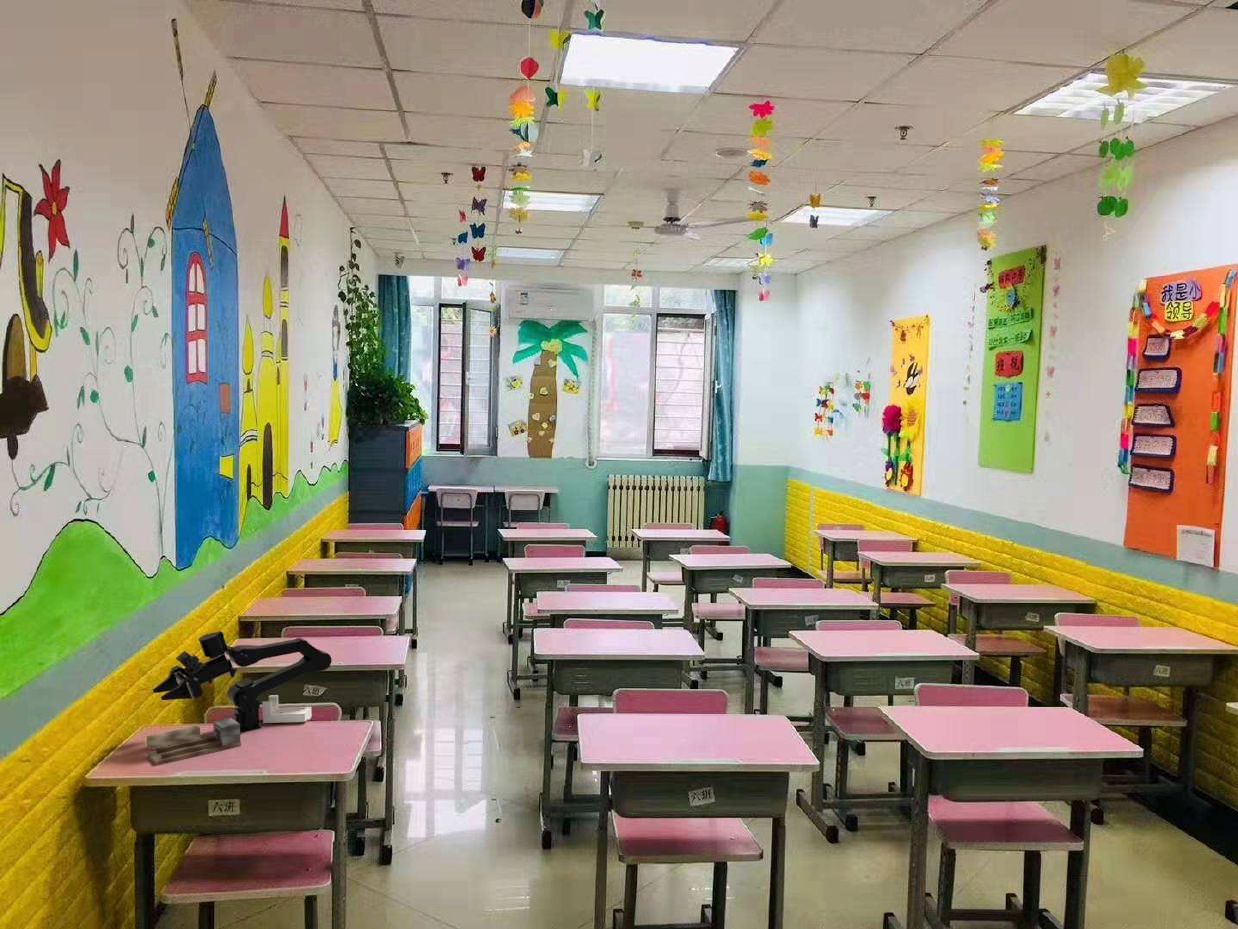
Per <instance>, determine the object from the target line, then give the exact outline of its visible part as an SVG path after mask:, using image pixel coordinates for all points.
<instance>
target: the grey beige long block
mask: <svg viewBox="0 0 1238 929" xmlns="http://www.w3.org/2000/svg"><path fill="white" fill-rule="evenodd" d="M199 739H201V728H200V726H198V725H195V726H189V727H184V728H181V729H175V730H170V731H166V732H161V733H157V734H153V735H146V748H147V749H148V748H149V749H152V750H154V749H153V748H156V749H158V748H160V747H161V748H162V747H167V746H168V745H170V746H171V745H172V744H174V745H176V744H178V743H179V744H181V743H182V742H183V743H185V742H190V741H194V740H199Z"/></svg>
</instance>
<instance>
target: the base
mask: <svg viewBox="0 0 1238 929" xmlns="http://www.w3.org/2000/svg"><path fill="white" fill-rule="evenodd" d="M212 724H213V727H212V728H213V736H209V737H204V738H200V739H197V740H192V741H188V742H183V743H179V744H174V745H170V746H165V747H161V748H156V749H155V750H156V751H153V752H148V753H147V758H148V759H149V760H150V761H151V762H152V763H153V764H154V765H155V766H160V765H163V764H164V763H165V764H169V763H173V762H177V760H178V761H182V760H185V759H191V758H194V757H198V756H203V755H207V754H212V753H216V752H220V751H225V750H228V749H234V748H238V747H241V746H242V741H241V732H240V724H239V723H238V722H236V721H235V720H234V719H233V718H232V717H225V718H222V719H216V720H213V722H212ZM172 761H173V762H172ZM168 762H169V763H168ZM159 764H160V765H159ZM165 764H164V765H165Z"/></svg>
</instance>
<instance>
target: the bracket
mask: <svg viewBox="0 0 1238 929" xmlns="http://www.w3.org/2000/svg"><path fill="white" fill-rule="evenodd" d="M312 714H313V713H312V706H293V707H292V706H291V707H290V706H287V707H285V706H284V707H279V695H278V694H275V695H269V696H268V700H267V701H266V700H263V701H262V723H263V724H273V723H274V724H276V723H278V724H279V723H304V722H307V721H309V720H310V719H311V718H312V717H313V716H312Z"/></svg>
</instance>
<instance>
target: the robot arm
mask: <svg viewBox="0 0 1238 929" xmlns="http://www.w3.org/2000/svg"><path fill="white" fill-rule="evenodd" d="M198 642H199V644H200V647H201V650H202V652H203V655H204V657H205V658H209V660H208V661H205V662H202V661H200V658H199V657H198V656H197V655H196V654H194V655H190V653H188V652H187V651H186V650H183V651H182V652H181V653H180V654H179V655H178V656H177V657H176V658H175V660H176V661H177V662H179V663H181V664H182V666H180V665H175V666H173V667H171V668H170V671H169V673H168V677H166V679H164V680H163V681H162V682H161V683H159V684H158V685H156V687H154V688H153V689H152V691H153V692H152V693H154V694H159V693H164V694H162V696H160V699H161V701H171V700H188V699H189V700H192V699H194V700H196V699H198V698H200V697H202V695H203V693H204V691H203V688H202V685H204V684H207V683H208V684H212V683H213V680H215V679H217V678H220V677H222V676H225V674H227V675H228V677H230V678H235V676H236V672H237V670H238V669H237V668H235V667H233V666H234V665H233V663H234V664H235V665H236V666H238V667H241V668H246V667H249V666H251V665H254V664H257V663H258V662H260V661H261V660H265V659H272V658H275V657H280V656H281V657H282V656H285V655H290V654H296V653H299V654H301V655H302V657H301V658H300V659H299V660H298V661H297V662H295V663H292V664H289V665H287V666H285V667H284V668H281V669H278V670H277V671H274V672H272V673H270V674H267V675H265V676H263V677H261V678H257V679H256V680H252V679H250V678H248V677H245V678H243V679H241V680H238V681H234V682H233V685H231V686H230V687H229V688H228V690H227V694H226V698H227V699H228V701H229V702H231V703H232V704H233V705H234V707H236V708H235V709H234V713H233V718H232V719H234V720H235V721H236V722H238V723H239V724H240V733H241V732H246V731H250V730H251V731H252V730H255V729H259V728H260V729H261V728H262V725H261V724H260V714H259V713H260V711H259V709H260V706H261V702H260V700H257V699H258V698H259V697H260V696H261V695H262V694H264V693H267V691H270V690H272V689H276V688H277V687H279V686H282V685H283V684H286V683H288V682H290V681H292V680H294V679H297V678H298V677H301V676H303V675H306V674H308V675H309V674H313V673H319V672H323V671H326V670H328V669H329V668H330V667H331V664H332V661H333V660H332V657H331V655H330V654H329V653H328V652H325V651H323V650H321V649H318V648H317V647H315V646H314V645H311V644H310V642H308V641H307V640H306V639H304V638H301V637H297V638H295V639H290V640H283V641H278V642H273V643H268V644H263V645H262V644H261V645H256V644H255V645H254V644H252V645H251V644H238V645H237V644H236V645H235V646H229V645H227V642H226V640H225V636H224V632H223V631H221V630H218V631H215V632H210V633H206V634H203V635H202V636H200V637H199V638H198ZM226 655H227V656H228V658H227V656H226Z"/></svg>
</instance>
